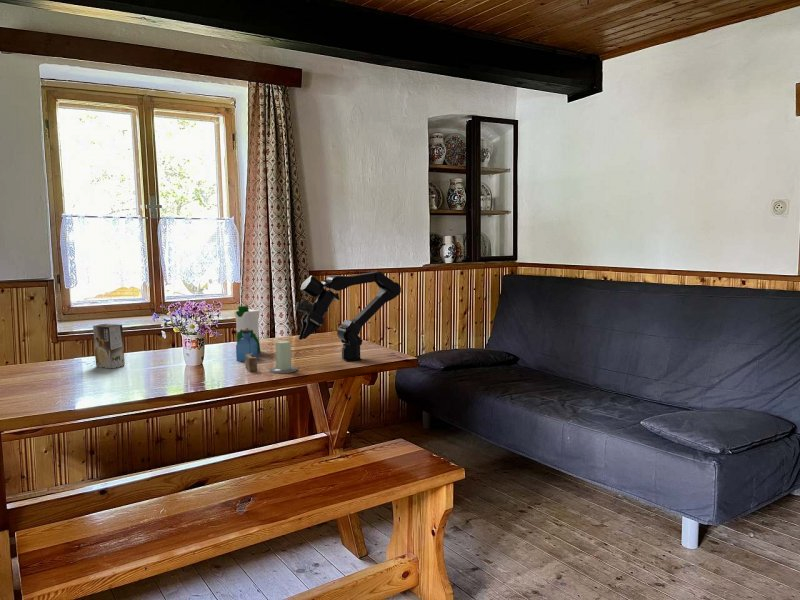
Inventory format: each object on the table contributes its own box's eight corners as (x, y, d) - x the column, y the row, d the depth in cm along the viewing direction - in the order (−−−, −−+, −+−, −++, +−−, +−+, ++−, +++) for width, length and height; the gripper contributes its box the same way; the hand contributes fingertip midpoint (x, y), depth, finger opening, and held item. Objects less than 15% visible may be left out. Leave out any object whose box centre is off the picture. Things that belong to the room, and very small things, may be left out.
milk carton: (233, 353, 258) (231, 306, 256) (249, 349, 265) (247, 303, 263) (248, 355, 253) (246, 307, 251) (263, 351, 261) (262, 305, 258)
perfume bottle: (251, 361, 242) (250, 331, 240) (236, 360, 243) (235, 331, 242) (257, 358, 248) (256, 329, 246) (243, 357, 249) (242, 328, 248)
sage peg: (285, 366, 229) (285, 340, 228) (291, 368, 226) (290, 342, 225) (276, 368, 226) (275, 341, 225) (281, 370, 223) (280, 343, 222)
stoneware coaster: (293, 366, 233) (293, 364, 233) (300, 371, 224) (300, 370, 224) (267, 368, 229) (267, 367, 229) (273, 374, 220) (273, 372, 220)
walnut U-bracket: (252, 366, 233) (252, 353, 232) (257, 371, 225) (256, 357, 224) (245, 367, 232) (245, 354, 231) (249, 371, 224) (249, 358, 223)
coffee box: (125, 365, 236) (123, 324, 234) (112, 369, 230) (109, 326, 228) (108, 363, 239) (106, 323, 238) (94, 367, 234) (92, 325, 232)
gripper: (300, 295, 243) (280, 329, 239) (307, 290, 225) (285, 326, 221) (324, 310, 245) (304, 343, 241) (333, 306, 227) (312, 342, 223)
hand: (301, 339), depth 232 cm, fingers open, 9 cm apart
